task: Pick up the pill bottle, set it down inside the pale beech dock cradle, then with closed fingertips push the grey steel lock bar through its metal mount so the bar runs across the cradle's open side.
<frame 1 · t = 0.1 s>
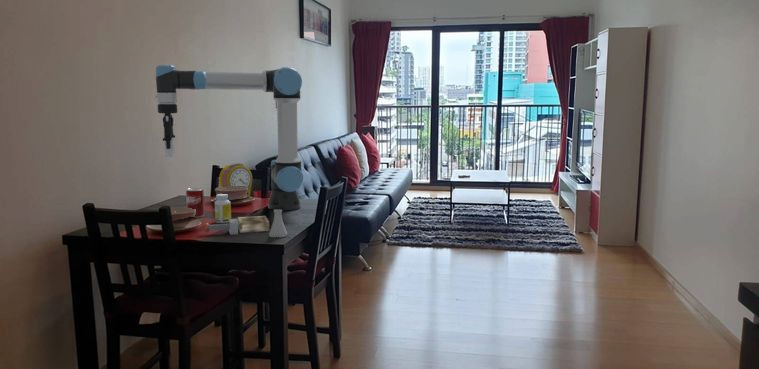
hand: (170, 155, 234), 28 cm above the table, fingers open, 13 cm apart
alarm clock: (236, 198, 288), on the table
pin mount: (233, 232, 218), on the table
pill bottle: (223, 222, 236), on the table
soda can: (196, 216, 246), on the table
dock: (253, 228, 226), on the table
lock pin: (222, 226, 216), point 3 cm above the table, slide at 0.0 cm
flask: (278, 236, 214), on the table
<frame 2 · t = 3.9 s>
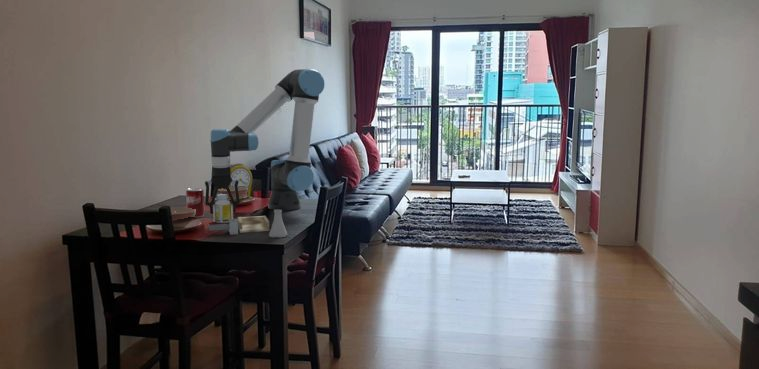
hand: (223, 220, 236), 0 cm above the table, fingers closed on pill bottle, 6 cm apart
pill bottle: (223, 222, 236), on the table, touching gripper
everything else where it was.
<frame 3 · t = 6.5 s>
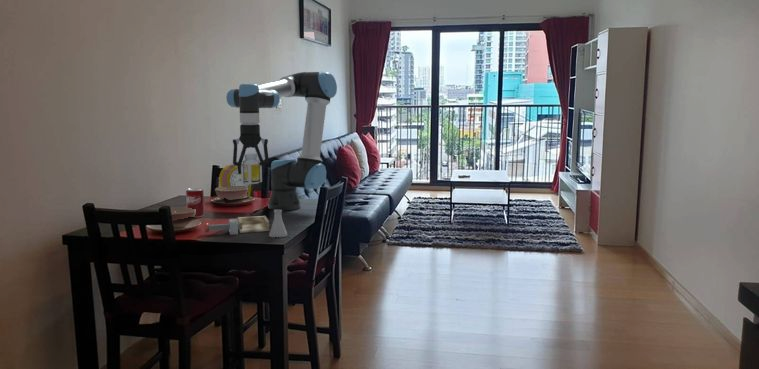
hand: (251, 181, 223), 19 cm above the table, fingers closed on pill bottle, 6 cm apart
pill bottle: (251, 183, 223), point 18 cm above the table, touching gripper
everything else where it was.
when the fingers open (4 cm above the table, at t = 9.8 s): pill bottle stays where it is, resting on dock.
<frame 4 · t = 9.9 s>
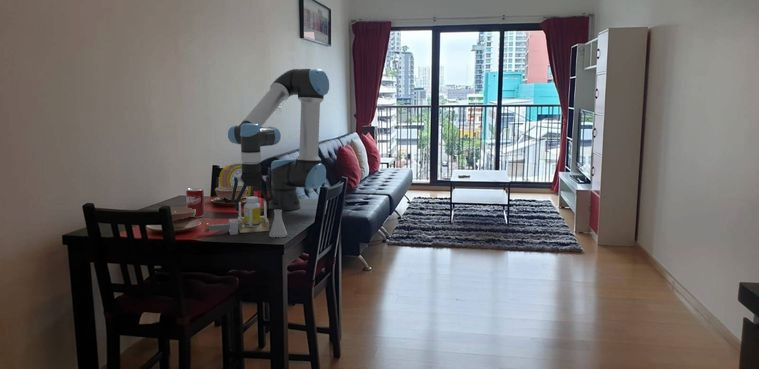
hand: (252, 218, 225), 4 cm above the table, fingers open, 9 cm apart
pill bottle: (252, 226, 226), point 1 cm above the table, touching dock
everything else where it was.
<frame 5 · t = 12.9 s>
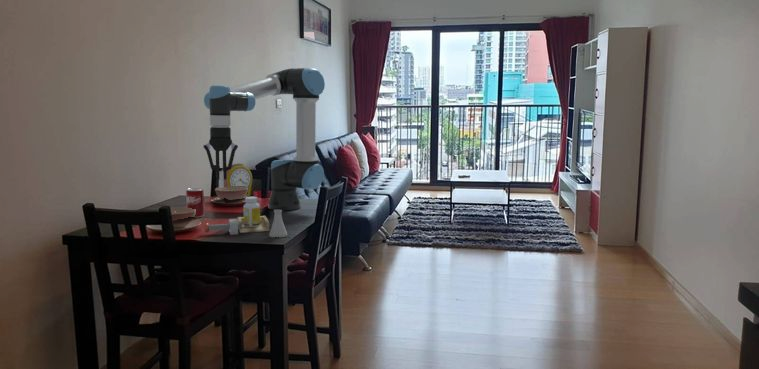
hand: (221, 187, 216), 17 cm above the table, fingers closed
nothing on the table moved.
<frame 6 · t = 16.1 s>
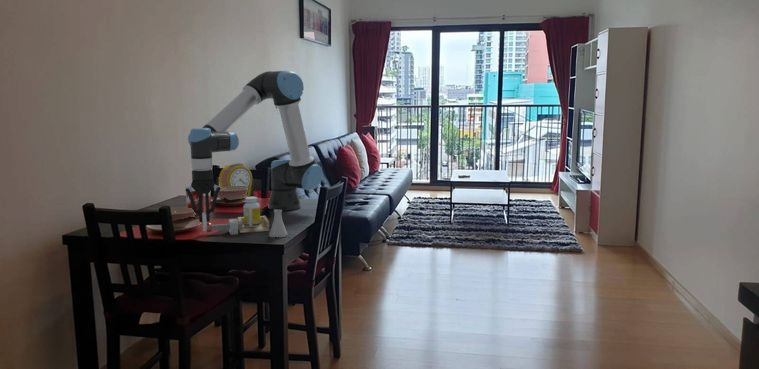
hand: (205, 230, 215), 2 cm above the table, fingers closed
lock pin: (224, 226, 217), point 3 cm above the table, slide at 0.9 cm, touching gripper
everything else where it was.
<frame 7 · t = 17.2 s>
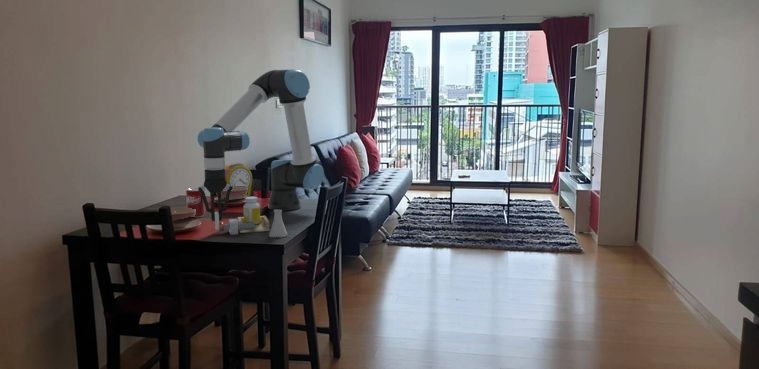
hand: (217, 229, 216), 2 cm above the table, fingers closed
lock pin: (236, 225, 218), point 3 cm above the table, slide at 5.4 cm, touching gripper
everything else where it was.
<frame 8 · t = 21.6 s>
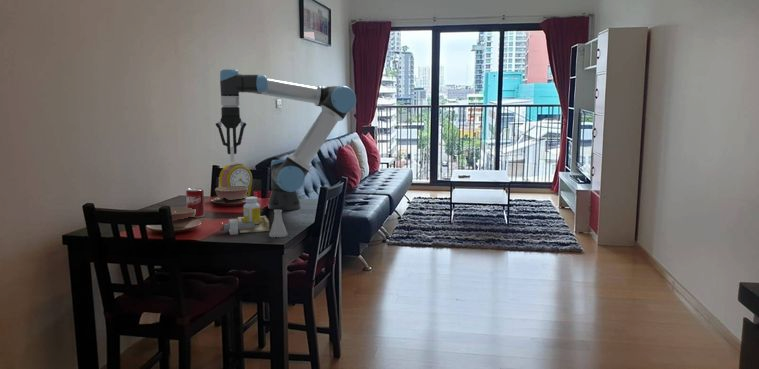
hand: (232, 161, 241), 24 cm above the table, fingers closed
lock pin: (237, 225, 218), point 3 cm above the table, slide at 5.5 cm
everything else where it was.
at the end: pill bottle inside the target area on the dock (0.3 cm from its centre), point 0.6 cm above the dock's base; pill bottle tilted 0°; lock pin slide at 5.5 cm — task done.
